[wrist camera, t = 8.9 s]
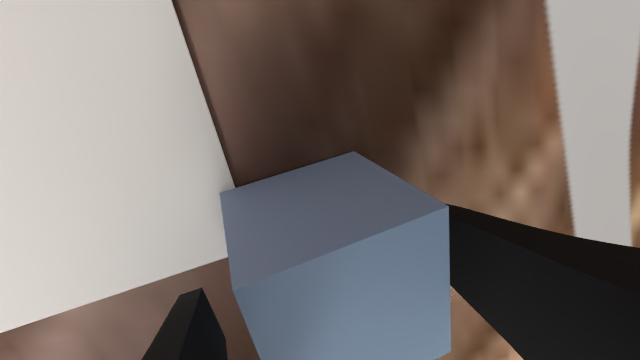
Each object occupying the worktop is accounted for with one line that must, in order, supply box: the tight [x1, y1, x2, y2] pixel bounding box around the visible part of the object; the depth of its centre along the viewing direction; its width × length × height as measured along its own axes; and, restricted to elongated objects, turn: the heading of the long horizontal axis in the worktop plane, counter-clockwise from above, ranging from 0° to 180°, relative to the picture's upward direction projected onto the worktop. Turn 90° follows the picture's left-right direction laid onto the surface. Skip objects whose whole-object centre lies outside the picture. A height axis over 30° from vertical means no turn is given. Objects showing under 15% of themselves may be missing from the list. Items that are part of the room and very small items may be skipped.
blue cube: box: [219, 151, 451, 360], centre depth 10 cm, size 5×5×5 cm
